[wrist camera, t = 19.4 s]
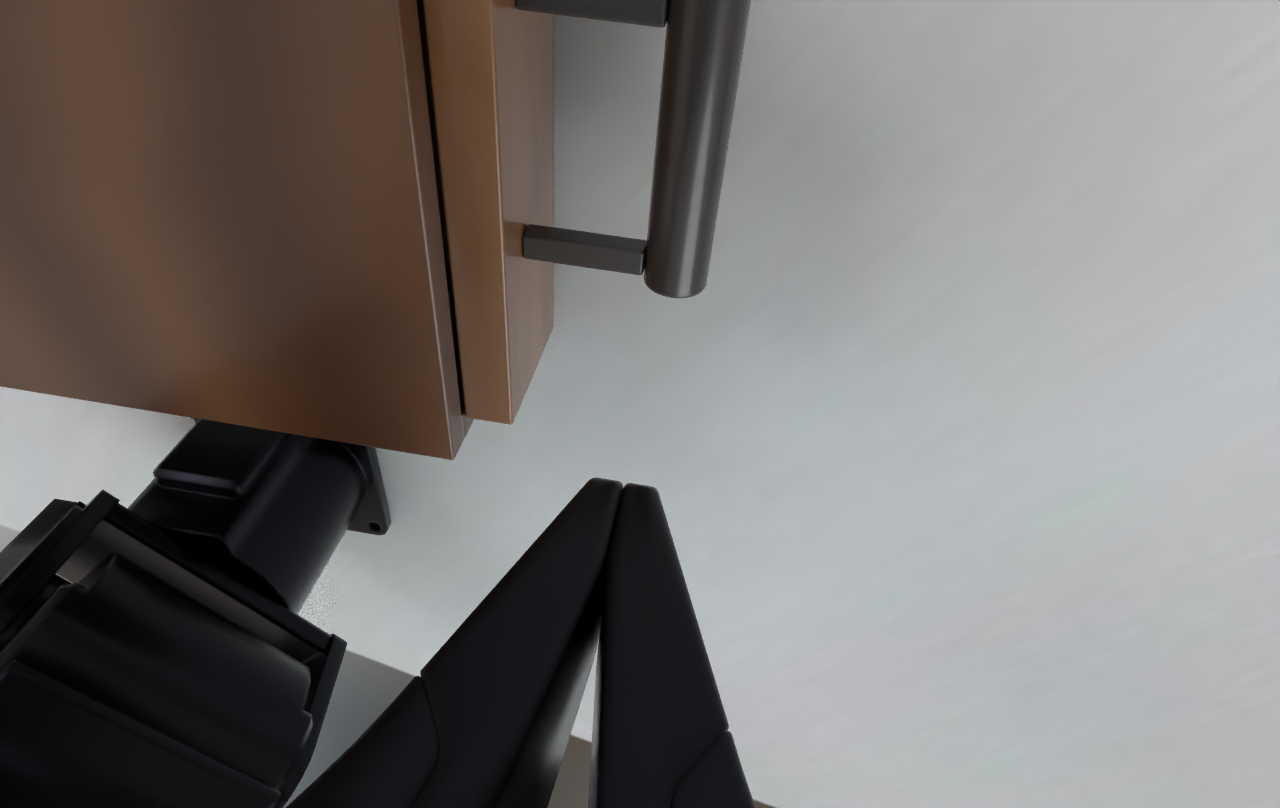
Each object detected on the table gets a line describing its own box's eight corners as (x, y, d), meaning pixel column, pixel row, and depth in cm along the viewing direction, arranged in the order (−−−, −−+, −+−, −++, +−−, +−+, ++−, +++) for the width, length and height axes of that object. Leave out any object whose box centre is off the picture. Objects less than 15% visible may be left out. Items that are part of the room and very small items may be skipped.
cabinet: (499, -377, 13) (340, -461, 8) (522, 320, 22) (454, 461, 18) (-318, -452, 14) (-867, -564, 9) (37, 247, 23) (-146, 364, 19)
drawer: (798, -304, 12) (803, -332, 9) (695, 347, 21) (679, 452, 18) (-232, -402, 13) (-557, -458, 10) (78, 255, 22) (-43, 337, 19)
